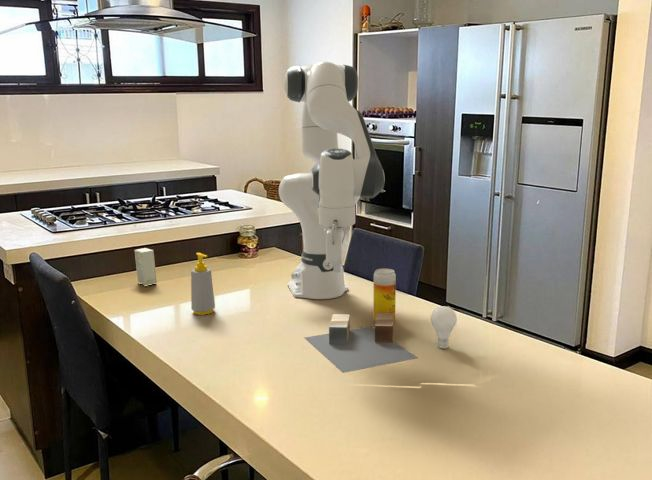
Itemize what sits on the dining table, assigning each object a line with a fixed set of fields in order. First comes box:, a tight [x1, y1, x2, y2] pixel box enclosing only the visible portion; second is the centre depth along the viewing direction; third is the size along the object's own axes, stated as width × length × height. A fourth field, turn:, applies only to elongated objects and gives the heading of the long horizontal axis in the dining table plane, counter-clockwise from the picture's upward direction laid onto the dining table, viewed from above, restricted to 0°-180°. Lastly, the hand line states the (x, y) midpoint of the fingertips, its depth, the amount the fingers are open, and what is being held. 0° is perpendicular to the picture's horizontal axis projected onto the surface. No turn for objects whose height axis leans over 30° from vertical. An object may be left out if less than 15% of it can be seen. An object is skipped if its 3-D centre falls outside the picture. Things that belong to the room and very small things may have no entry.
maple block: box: [328, 313, 351, 345], centre depth 165 cm, size 4×4×10 cm
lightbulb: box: [430, 305, 458, 350], centre depth 156 cm, size 6×6×11 cm
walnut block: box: [374, 313, 394, 343], centre depth 165 cm, size 4×4×10 cm
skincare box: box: [134, 247, 158, 285], centre depth 216 cm, size 6×4×12 cm
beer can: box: [372, 268, 397, 323], centre depth 175 cm, size 6×6×15 cm
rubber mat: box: [304, 325, 419, 374], centre depth 158 cm, size 24×20×1 cm
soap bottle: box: [190, 252, 216, 316], centre depth 185 cm, size 7×7×18 cm
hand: (337, 270), depth 157 cm, fingers closed
